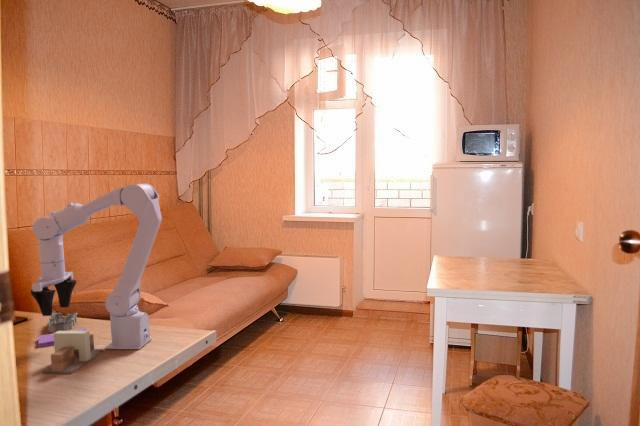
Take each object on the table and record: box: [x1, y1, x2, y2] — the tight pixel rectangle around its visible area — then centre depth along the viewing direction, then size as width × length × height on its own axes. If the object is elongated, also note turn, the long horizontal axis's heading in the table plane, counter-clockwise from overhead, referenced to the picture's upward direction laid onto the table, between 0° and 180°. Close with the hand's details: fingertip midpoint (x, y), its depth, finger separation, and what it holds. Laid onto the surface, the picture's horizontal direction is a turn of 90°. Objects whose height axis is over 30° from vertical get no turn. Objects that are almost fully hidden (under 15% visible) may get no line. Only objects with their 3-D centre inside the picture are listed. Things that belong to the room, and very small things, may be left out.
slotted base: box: [42, 333, 104, 375], centre depth 121 cm, size 14×7×5 cm, turn 175°
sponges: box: [37, 327, 88, 348], centre depth 138 cm, size 7×13×2 cm, turn 117°
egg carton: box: [46, 310, 79, 333], centre depth 150 cm, size 11×8×4 cm
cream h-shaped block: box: [52, 330, 91, 361], centre depth 121 cm, size 8×2×7 cm, turn 85°
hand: (56, 311), depth 131 cm, fingers open, 7 cm apart
